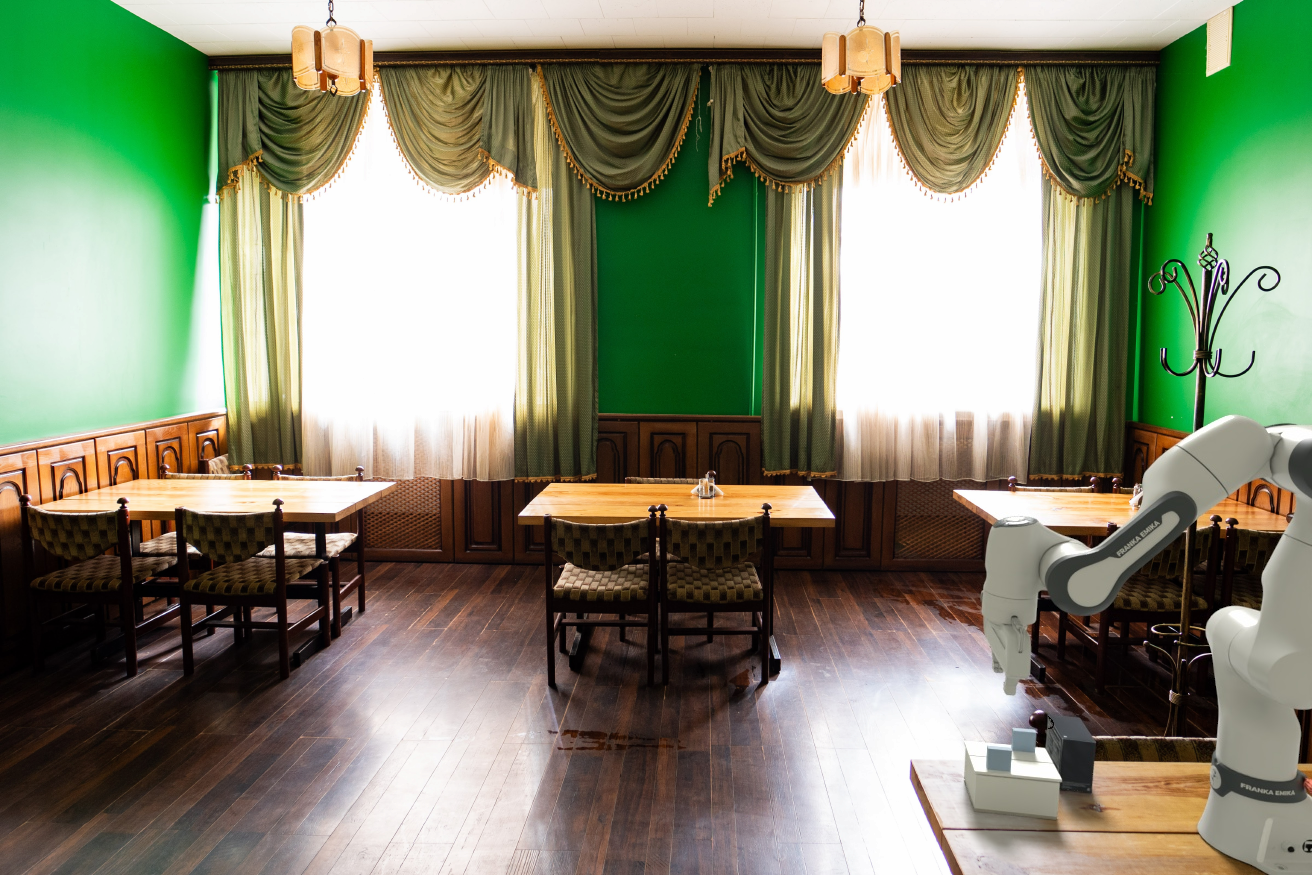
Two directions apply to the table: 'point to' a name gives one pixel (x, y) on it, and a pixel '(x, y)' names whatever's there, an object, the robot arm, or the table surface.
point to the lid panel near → (1012, 766)
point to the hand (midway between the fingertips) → (1003, 682)
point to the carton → (1011, 794)
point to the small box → (1071, 752)
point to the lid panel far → (1014, 747)
